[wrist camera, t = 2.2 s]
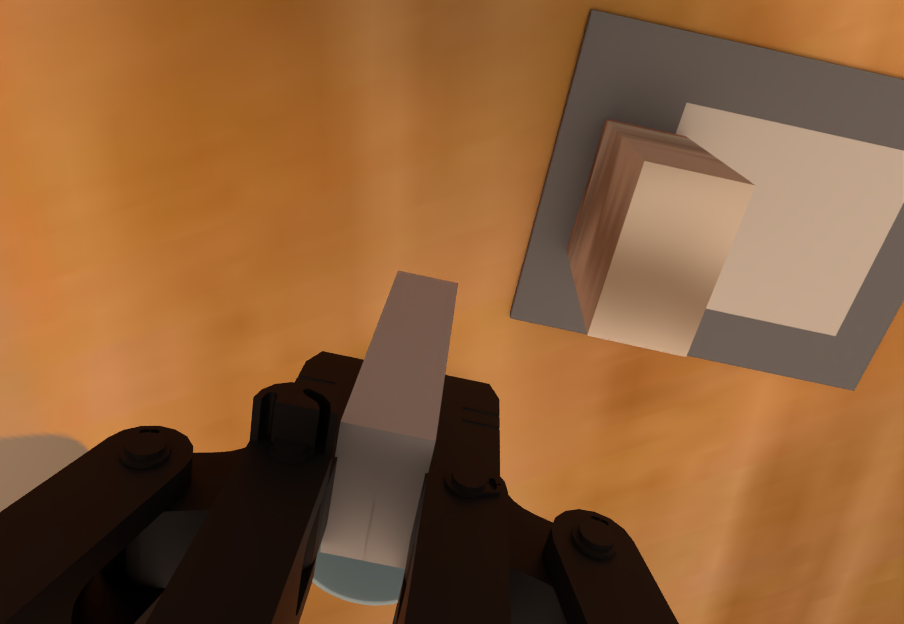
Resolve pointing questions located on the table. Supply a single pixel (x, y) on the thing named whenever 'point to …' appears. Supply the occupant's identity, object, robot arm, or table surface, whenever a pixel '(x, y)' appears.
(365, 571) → the cup
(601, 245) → the block
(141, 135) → the table surface
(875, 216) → the mat
